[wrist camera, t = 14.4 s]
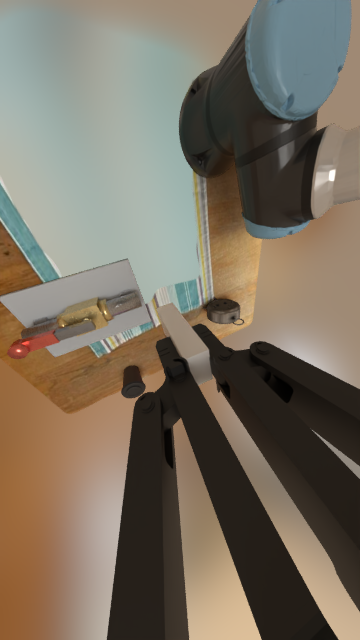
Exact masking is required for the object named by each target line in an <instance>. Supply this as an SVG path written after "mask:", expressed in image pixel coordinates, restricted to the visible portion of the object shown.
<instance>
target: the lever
mask: <svg viewBox="0 0 360 640" xmlns="http://www.w3.org/2000/svg"><path fill="white" fill-rule="evenodd" d="M93 330H96V325H95V323H94V322H93V320H92V319H88V318H84V319H83V320H82V322H80V323H77V324H74V325H71V326H67V327H64V328H61V329H57V330H51V331H48V332H45V333H41V334H38V335H35V336H32V337H28V338H25V339H19V340H17V341H15V342H14V343H13V344H12V345H11V346H10V347H11V348H10V349H9V350H8V352H7V354H8V355H9V356H10V357H11V358H14V359H22V358H24V357H26V356H27V354H28V352H31V351H34V350H37V349H40V348H44V347H47V346H50V345H53V344H56V343H59V342H60V341H61V340H65V339H68V338H71V337H74V336H77V335H80V334H83V333H87V332H90V331H93Z"/></svg>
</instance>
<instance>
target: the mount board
mask: <svg viewBox="0 0 360 640" xmlns="http://www.w3.org/2000/svg"><path fill="white" fill-rule="evenodd" d="M128 289H130V291H131V293H133V292H137V294H138V297H139V299H140V302H141V304H142V307H139V308H137V309H134V310H131V311H128V312H125V313H123V314H120V315H117V316H114V317H115V319H113V320H111V321H109V324H108V326H106V327H103V328H100V329H97V330H95V331H92V332H89V333H86V334H84V335H81V336H78V337H77V336H74V337H71V338H68V339H65V340H61V341H60V342H59V343H56V344H53V345H50V346H47V347H46V348H47V349H48V350H49V352H50V353H51V354H52V355H53V356H54V357H57V356H60V355H63V354H65V353H68V352H70V351H73V350H76V349H78V348H81V347H84V346H86V345H89V344H92V343H94V342H97V341H100V340H102V339H105V338H108V337H110V336H113V335H116V334H118V333H121V332H124V331H126V330H129V329H131V328H134V327H137V326H139V325H142V324H145V323H147V322H150V321H151V319H150V316H149V313H148V311H147V308H146V305H145V303H144V300H143V297H142V295H141V292H140V290H139V287H138V284H137V282H136V279H135V276H134V274H133V271H132V269H131V266H130V263H129V261H128V259H124V260H120V261H117V262H114V263H111V264H107V265H103V266H100V267H96V268H93V269H90V270H86V271H83V272H79V273H76V274H72V275H69V276H66V277H62V278H59V279H55V280H52V281H49V282H45V283H42V284H38V285H35V286H31V287H28V288H25V289H21V290H18V291H14V292H11V293H8V294H4V295H1V296H0V301H1V302H2V303H3V304H4V305H5V306H6V307H7V308H8V309H9V310H10V311H11V312H12V313H13V314H14V315H15V317H16V318H17V319H18V320H19V321H20V322H21V323H22V324H23V325H24V326H25V327H26V328H28V327H31V326H34V324H33V323H32V322H33V321H34V320H37V319H40V318H43V317H47V318H48V319H49V320H52V319H55V318H57V315H58V314H61V313H64V311H65V310H66V308H67V307H68V306H71V305H74V304H77V303H80V302H83V301H86V300H89V299H92V298H95V297H99V299H100V300H103V299H106V300H107V301H109V300H112V299H115V298H118V297H121V296H120V294H119V292H122V291H125V290H128Z"/></svg>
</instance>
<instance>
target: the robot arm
mask: <svg viewBox="0 0 360 640" xmlns="http://www.w3.org/2000/svg"><path fill="white" fill-rule="evenodd" d="M350 31H351V0H258V1H257V4H256V5H255V7H254V8H253V10H252V13H251V15H250V16H249V18H248V19H247V21H246V23H245V24H244V26H243V27H242V29H241V30H240V32H239V33H238V35H237V37H236V38H235V40H234V41H233V43H232V44H231V46H230V47H229V49H228V50H227V52H226V54H225V55H224V57H223V58H222V60H221V62H220V63H219V64H218V65H217V66H215V67H212V68H210V69H209V70H206V71H204V72H203V73H201V74H200V75H199V76H198V77H197V78H196V79H195V80H194V82H193V83H192V85H191V87H190V88H189V90H188V92H187V94H186V96H185V98H184V101H183V103H182V107H181V111H180V118H179V135H180V142H181V147H182V150H183V153H184V156H185V158H186V160H187V162H188V164H189V165H190V166H191V168H192V169H193V170H194V171H195V172H196V173H197V174H199V175H201V176H203V177H207V178H212V177H216V176H218V175H220V174H222V173H224V172H226V171H227V170H228V169H229V168H230V167H231V166H232V165H233V163H234V162H235V165H236V173H237V179H238V186H239V192H240V199H241V205H242V217H243V219H244V222H245V227H246V230H247V232H248V233H249V234H250V235H251V236H253V237H256V238H260V239H275V238H281V237H285V236H286V235H288V234H291V235H292V234H295V233H297V232H299V231H301V230H302V229H304V228H305V227H306V226H307V225H308V223H309V222H310V220H313V219H317V218H320V217H321V216H322V215H323V214H324V213H325V212H326V211H327V210H328V209H330V208H331V207H332V206H334V205H337V204H341V203H345V202H350V201H355V200H359V199H360V126H358V127H356V128H354V129H351V130H344V129H342V128H341V127H339V126H338V125H336V124H331V125H329V126H327V127H324V128H322V129H320V130H318V131H317V130H316V124H317V111H318V109H319V108H320V107H321V105H322V104H323V103H324V102H325V101H326V100H327V98H328V97H329V95H330V94H331V92H332V90H333V89H334V87H335V85H336V83H337V81H338V73H339V72H340V71H341V70H342V68H343V65H344V62H345V58H346V55H347V50H348V45H349V39H350ZM156 309H157V312H158V315H159V318H160V321H161V324H162V327H163V330H164V333H165V335H166V337H167V338H164V339H162V340H159V341H157V344H156V349H157V351H158V354H159V357H160V360H161V363H162V365H163V368H164V373H165V375H166V379H165V382H164V384H163V385H162V386H161V387H160V388H159V389H158V390H157V391H156V392H155V393H154V392H147V393H145V394H143V395H142V396H140V397H139V398H138V400H137V401H136V403H135V407H134V413H133V421H132V430H131V438H130V447H129V455H128V464H127V472H126V480H125V489H124V498H123V506H122V515H121V523H120V532H119V540H118V549H117V557H116V566H115V575H114V583H113V592H112V600H111V609H110V617H109V626H108V635H107V640H189V632H188V619H187V608H186V607H187V606H186V593H185V580H184V567H183V554H182V542H181V541H182V540H181V528H180V514H179V502H178V489H177V475H176V462H175V449H174V436H173V425H174V424H175V423H176V422H177V421H178V420H179V419H180V418H182V421H183V424H184V427H185V430H186V432H187V435H188V437H189V441H190V443H191V446H192V449H193V452H194V454H195V457H196V460H197V463H198V465H199V468H200V471H201V473H202V476H203V479H204V482H205V485H206V487H207V490H208V493H209V496H210V498H211V501H212V504H213V507H214V509H215V512H216V515H217V518H218V520H219V523H220V526H221V528H222V531H223V534H224V537H225V540H226V542H227V545H228V548H229V551H230V553H231V556H232V559H233V562H234V565H235V567H236V570H237V573H238V576H239V578H240V581H241V584H242V587H243V589H244V592H245V595H246V597H247V600H248V603H249V606H250V608H251V611H252V614H253V617H254V619H255V622H256V625H257V628H258V630H259V633H260V636H261V639H262V640H338V638H337V637H336V635H335V634H334V632H333V630H332V629H331V627H330V626H329V624H328V623H327V621H326V619H325V618H324V616H323V614H322V613H321V611H320V609H319V607H318V606H317V604H316V602H315V600H314V598H313V597H312V595H311V593H310V591H309V589H308V588H307V586H306V584H305V582H304V580H303V578H302V576H301V574H300V573H299V571H298V569H297V567H296V565H295V563H294V562H293V560H292V558H291V556H290V554H289V552H288V551H287V549H286V547H285V545H284V543H283V541H282V539H281V538H280V536H279V534H278V532H277V530H276V529H275V527H274V525H273V523H272V521H271V519H270V517H269V515H268V514H267V512H266V510H265V508H264V506H263V505H262V503H261V501H260V499H259V497H258V495H257V493H256V492H255V490H254V488H253V486H252V484H251V482H250V480H249V479H248V477H247V475H246V473H245V471H244V470H243V468H242V466H241V464H240V462H239V460H238V458H237V456H236V455H235V453H234V451H233V450H232V447H231V445H230V444H229V442H228V440H227V438H226V436H225V434H224V433H223V431H222V429H221V427H220V425H219V423H218V421H217V420H216V418H215V416H214V414H213V413H212V411H211V408H210V407H209V405H208V403H207V401H206V399H205V398H204V396H203V394H202V392H201V390H200V388H199V386H198V385H200V384H202V383H204V382H206V381H209V380H211V379H212V374H213V376H214V377H215V379H216V384H217V390H218V392H220V390H221V392H222V393H223V395H224V396H225V398H226V399H227V401H228V402H229V404H230V405H231V407H232V409H233V410H234V412H235V413H236V415H237V416H238V418H239V419H240V421H241V422H242V424H243V425H244V427H245V428H246V430H247V432H248V433H249V435H250V436H251V438H252V439H253V441H254V442H255V444H256V445H257V447H258V448H259V450H260V451H261V453H262V454H263V456H264V457H265V459H266V460H267V462H268V463H269V465H270V467H271V468H272V470H273V471H274V473H275V474H276V475H277V477H278V479H279V480H280V482H281V483H282V485H283V486H284V488H285V489H286V491H287V492H288V494H289V496H290V497H291V499H292V500H293V501H294V503H295V505H296V506H297V508H298V509H299V511H300V512H301V514H302V515H303V517H304V519H305V520H306V522H307V523H308V525H309V526H310V528H311V529H312V531H313V532H314V534H315V535H316V537H317V538H318V540H319V541H320V543H321V544H322V546H323V547H324V549H325V551H326V552H327V554H328V555H329V557H330V559H331V561H332V562H333V565H334V567H335V570H336V573H337V575H338V576H339V579H340V580H341V582H342V584H343V586H344V587H345V589H346V591H347V592H348V594H349V596H350V597H351V599H352V600H353V602H354V603H355V605H356V607H357V608H358V610H359V611H360V479H359V478H358V477H357V476H356V475H355V474H354V473H353V472H352V471H351V470H350V469H349V468H348V467H347V466H346V465H345V464H344V463H343V462H342V461H341V459H340V458H339V457H338V456H337V455H336V454H335V453H334V452H333V451H332V450H331V449H330V448H329V447H328V446H327V445H326V444H325V443H324V442H323V441H322V440H321V439H320V438H319V437H318V436H317V435H316V434H315V433H314V432H313V431H315V432H316V433H317V434H319V435H320V436H321V437H322V438H324V439H325V440H326V441H328V442H329V443H330V444H332V445H333V446H334V447H336V448H337V449H338V450H339V451H341V452H342V453H343V454H345V455H346V456H347V457H349V458H350V459H352V460H353V461H354V462H355V463H356V464H358V465H359V466H360V389H358V388H356V387H354V386H352V385H350V384H348V383H346V382H344V381H342V380H340V379H338V378H336V377H334V376H332V375H331V374H329V373H327V372H324V371H322V370H321V369H319V368H317V367H314V366H313V365H311V364H309V363H307V362H305V361H303V360H301V359H299V358H297V357H295V356H293V355H291V354H289V353H287V352H285V351H283V350H281V349H279V348H277V347H275V346H274V345H272V344H269V343H267V342H262V341H259V342H254V343H252V344H251V346H250V349H246V350H239V351H235V350H233V349H231V348H228V347H225V346H224V345H223V344H222V343H221V342H220V341H219V340H218V339H217V337H216V336H215V335H214V334H213V333H212V332H211V331H210V330H209V329H208V328H207V327H206V326H205V325H202V324H198V325H195V326H193V327H191V326H190V325H189V323H188V322H187V321H186V320H185V318H184V317H183V316H182V314H181V313H180V312H179V311H178V309H177V308H176V307H175V306H174V304H173V303H170V304H167V305H164V306H161V307H159V308H156ZM310 428H311V429H312V430H313V431H312V430H311V429H310Z"/></svg>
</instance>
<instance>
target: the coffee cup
mask: <svg viewBox="0 0 360 640" xmlns="http://www.w3.org/2000/svg"><path fill="white" fill-rule="evenodd" d="M144 390H145V384H144V383H143V381H142V378H141V375H140V372H139V370H138V367H136V366H129V367H127V368H126V369H125V370H124V379H123V388H122V391H121V393H122V395H123V396H124V397H126V398H135V397H138V396H140V395H141V394H142V393H143V392H144Z"/></svg>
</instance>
